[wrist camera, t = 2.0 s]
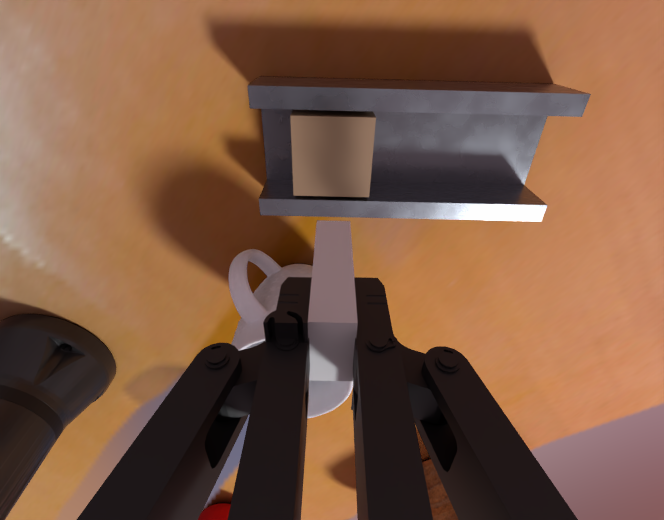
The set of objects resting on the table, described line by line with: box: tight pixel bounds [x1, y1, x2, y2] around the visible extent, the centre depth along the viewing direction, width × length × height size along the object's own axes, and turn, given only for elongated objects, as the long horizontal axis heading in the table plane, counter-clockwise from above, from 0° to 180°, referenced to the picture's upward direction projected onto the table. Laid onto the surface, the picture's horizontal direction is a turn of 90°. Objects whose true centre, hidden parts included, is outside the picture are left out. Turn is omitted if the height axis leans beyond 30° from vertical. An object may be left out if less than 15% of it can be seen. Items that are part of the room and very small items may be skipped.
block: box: [290, 110, 376, 197], centre depth 29 cm, size 6×6×4 cm
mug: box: [229, 249, 353, 418], centre depth 35 cm, size 15×11×13 cm
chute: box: [248, 76, 591, 221], centre depth 30 cm, size 24×10×5 cm, turn 89°
